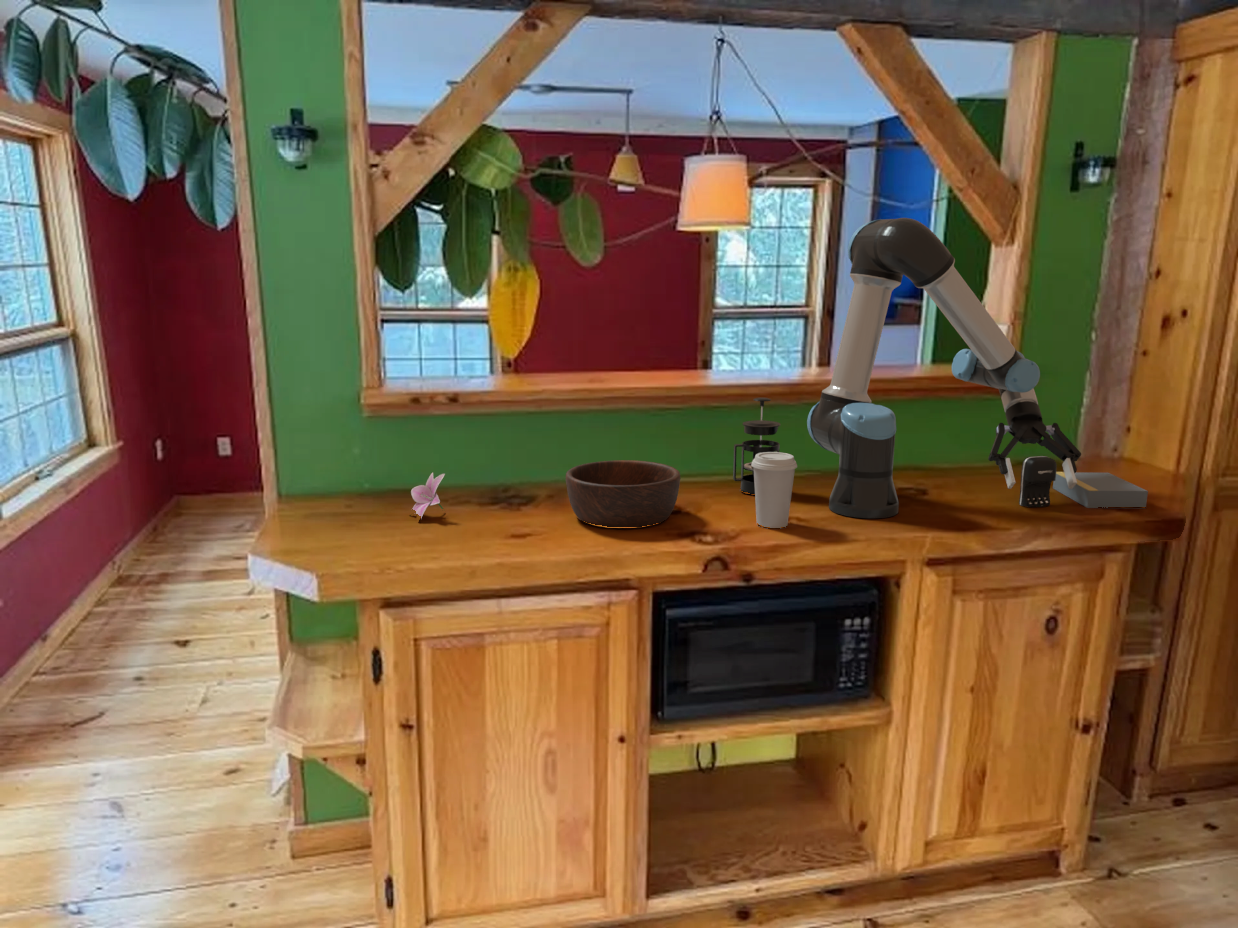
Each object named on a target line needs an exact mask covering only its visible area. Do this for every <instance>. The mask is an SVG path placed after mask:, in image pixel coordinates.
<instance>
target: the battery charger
mask: <svg viewBox="0 0 1238 928" xmlns="http://www.w3.org/2000/svg"><path fill="white" fill-rule="evenodd" d="M1056 472H1057V462H1056V460H1055V459H1053V458H1051V457H1048V456H1043V455H1040V456H1036V455H1035V456H1029V457H1025V459H1024V460H1023V461H1022V466H1021V473H1020V488H1019V489H1020V490H1019V500H1018V504H1019V505H1020V506H1021V507H1022V506H1023V507H1025V508H1026V507H1027V508H1044V507H1045V508H1046V507H1050V505H1051V498H1050V496H1051V495H1050V491H1051V486H1052V485H1051V484H1052V483H1053V481H1055V479H1056Z"/></svg>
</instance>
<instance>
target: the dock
mask: <svg viewBox="0 0 1238 928" xmlns="http://www.w3.org/2000/svg"><path fill="white" fill-rule="evenodd" d="M1075 477H1076V480H1077V483H1076V485H1075V486H1074V487H1073V488H1072V489H1069V487H1068V484H1067V480H1066V477H1065V473H1064V471H1056V479H1055V481H1052V483H1053V484H1052V489H1053V490H1055V491H1057V492H1059V493H1060V494H1063V495H1064V496H1066V497H1067V498H1070V499H1071V500H1073V501H1074V502H1076V503H1078V504H1080V505H1081V506H1083V507H1085V508H1087V509H1099V508H1098V507H1102V508H1101V509H1109V508H1108V507H1146V508H1147V500H1148V495H1149V491H1148V490H1146V489H1144V488H1142V487H1141V486H1138V485H1136V484H1134V483H1132V482H1129V481H1127V480H1125V479H1123V478H1121V477H1118V476H1117V475H1115V474H1112V473H1110V472H1077V471H1076V473H1075ZM1103 507H1104V508H1103ZM1105 507H1106V508H1105Z"/></svg>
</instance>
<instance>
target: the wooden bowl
mask: <svg viewBox="0 0 1238 928" xmlns="http://www.w3.org/2000/svg"><path fill="white" fill-rule="evenodd" d="M565 483H566V492H567V496H568V500H569V503H570V506H571V508H572V510H573V513H574V514H575V516H576V517H577V518H578V519H579V520H580V521H581V520H582V521H585V522H587V523H591V524H595V525H602V526H607V527H642V526H647V525H653V524H656V523H660V522H662V521H664V520H665V521H667V520H668V518H670V515H671V514H672V512H673V510H674V509H675V505H676V503H677V499H678V495H679V489H680V483H681V472H680V471H679V470H678V469H677V468H675V467H674V466H671V465H668V464H664V463H660V462H653V461H647V460H646V461H645V460H631V459H629V460H628V459H626V460H625V459H624V460H621V459H620V460H619V459H617V460H613V459H612V460H602V461H595V462H594V461H593V462H587V463H583V464H579V465H576V466H574V467H572V468H570V469H568V470H567V471H566V473H565ZM582 521H581V522H582ZM665 521H664V522H665ZM662 523H663V522H662ZM660 524H661V523H660Z"/></svg>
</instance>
